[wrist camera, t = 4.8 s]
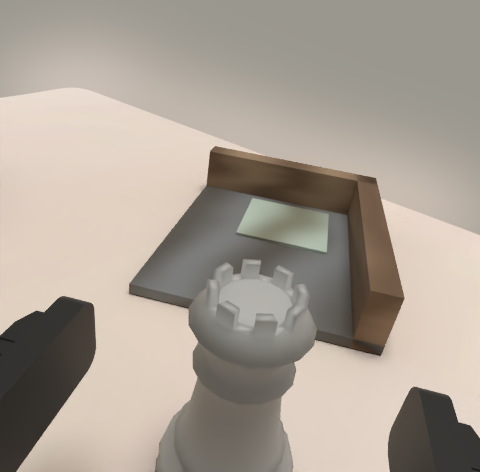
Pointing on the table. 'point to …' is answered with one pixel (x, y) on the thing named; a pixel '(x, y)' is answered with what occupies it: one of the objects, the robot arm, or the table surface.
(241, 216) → the corner arena
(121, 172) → the table surface
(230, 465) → the rook chess piece
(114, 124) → the table surface
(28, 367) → the robot arm
